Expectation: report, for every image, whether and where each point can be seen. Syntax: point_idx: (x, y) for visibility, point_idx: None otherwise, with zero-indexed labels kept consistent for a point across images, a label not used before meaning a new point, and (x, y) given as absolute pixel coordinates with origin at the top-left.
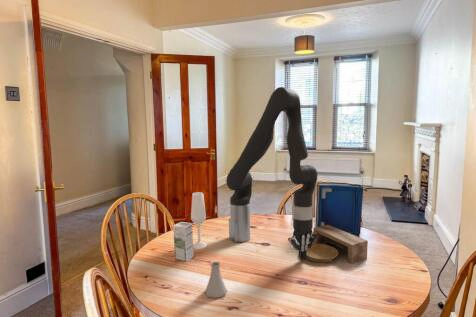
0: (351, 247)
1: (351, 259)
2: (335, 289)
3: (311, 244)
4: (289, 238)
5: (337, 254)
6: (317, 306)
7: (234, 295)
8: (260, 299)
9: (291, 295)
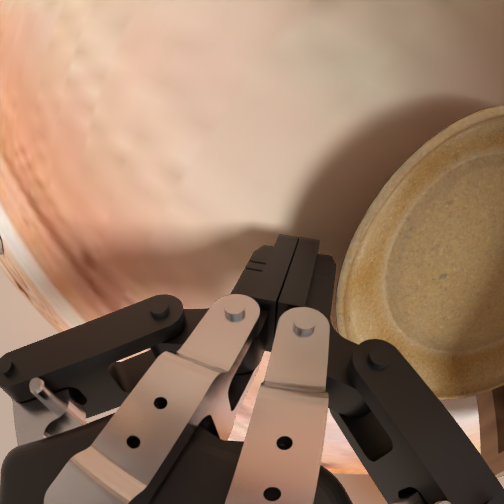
0: None
1: (480, 410)
2: (242, 419)
3: (375, 428)
4: (5, 387)
5: (490, 389)
6: None
7: (14, 262)
8: (52, 310)
9: None
